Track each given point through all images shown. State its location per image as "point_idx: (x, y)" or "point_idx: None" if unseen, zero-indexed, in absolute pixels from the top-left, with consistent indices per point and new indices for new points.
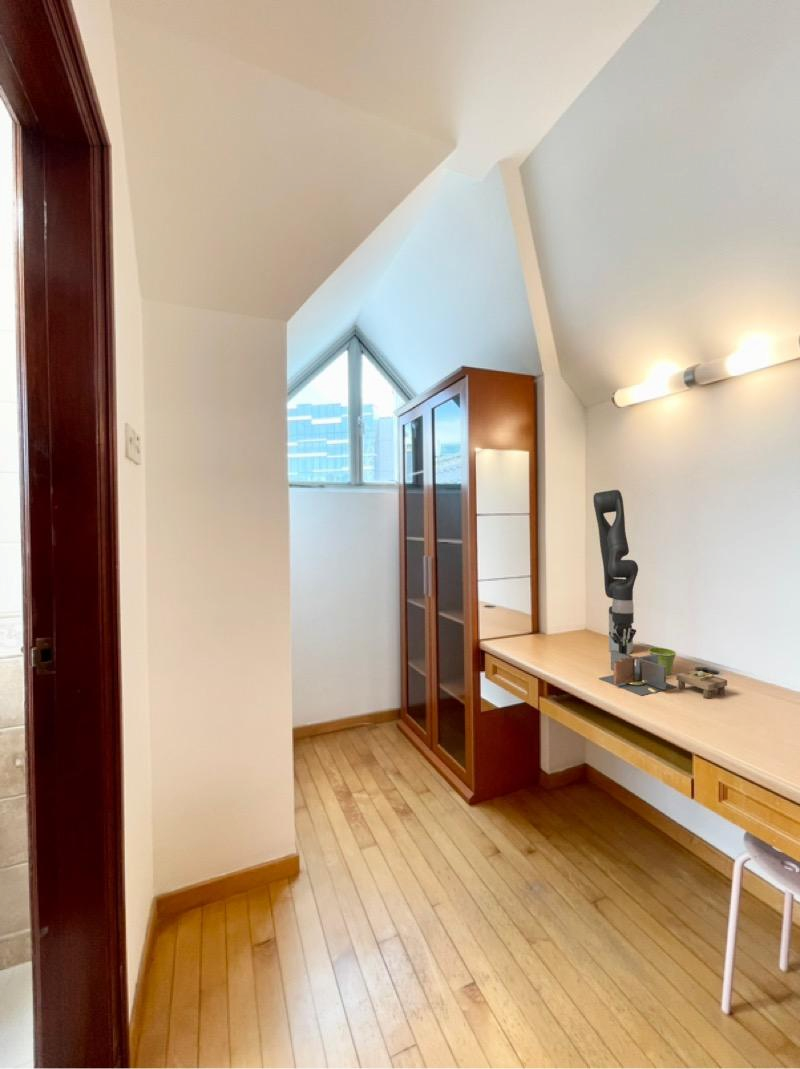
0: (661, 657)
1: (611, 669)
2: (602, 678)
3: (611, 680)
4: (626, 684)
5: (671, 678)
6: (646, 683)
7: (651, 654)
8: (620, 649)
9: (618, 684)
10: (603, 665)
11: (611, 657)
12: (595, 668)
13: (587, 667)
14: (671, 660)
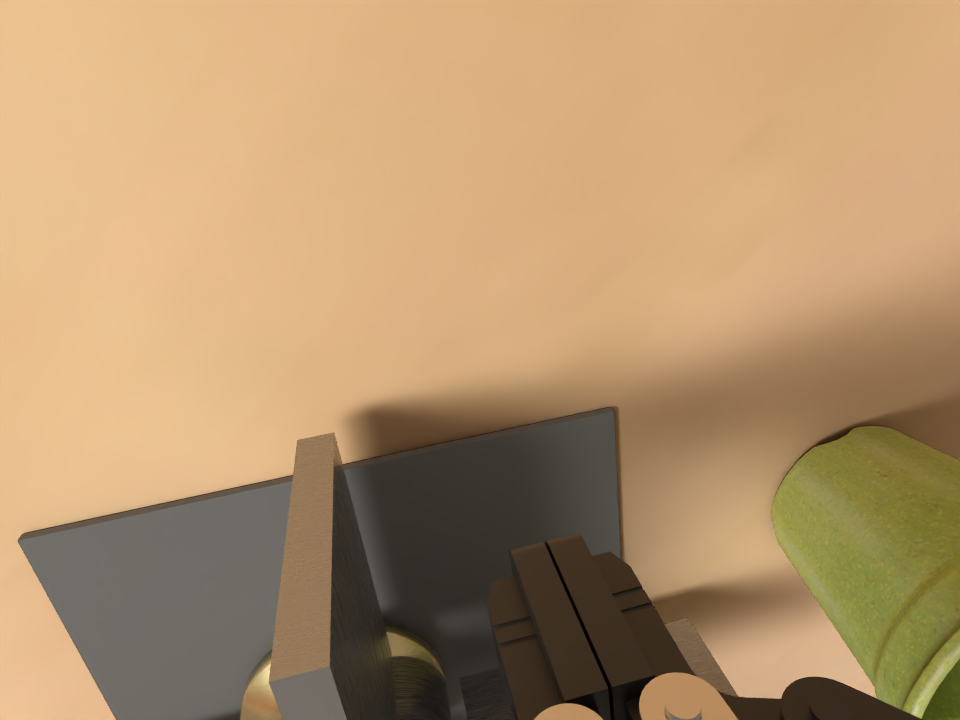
0: None
1: (300, 454)
2: (63, 556)
3: (143, 619)
4: (239, 716)
5: (774, 612)
6: (453, 706)
7: (912, 638)
8: (505, 679)
9: (153, 710)
10: (437, 79)
11: (286, 579)
12: (214, 167)
13: (97, 78)
14: (955, 701)
